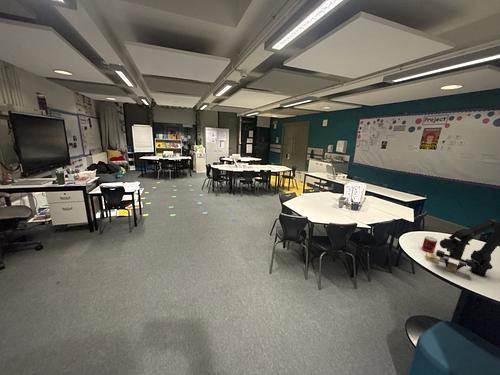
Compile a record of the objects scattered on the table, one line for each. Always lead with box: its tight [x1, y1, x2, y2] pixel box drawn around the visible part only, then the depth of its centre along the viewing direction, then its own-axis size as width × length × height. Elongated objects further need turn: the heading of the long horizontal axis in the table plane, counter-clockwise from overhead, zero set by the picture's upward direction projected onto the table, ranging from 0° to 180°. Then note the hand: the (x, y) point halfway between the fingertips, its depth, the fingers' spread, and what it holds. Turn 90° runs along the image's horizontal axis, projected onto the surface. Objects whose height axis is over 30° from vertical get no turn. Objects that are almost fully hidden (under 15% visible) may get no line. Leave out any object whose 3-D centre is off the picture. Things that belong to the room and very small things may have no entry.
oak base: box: [424, 252, 440, 265], centre depth 151 cm, size 7×7×4 cm
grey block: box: [439, 257, 450, 264], centre depth 151 cm, size 4×4×5 cm
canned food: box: [421, 235, 438, 254], centre depth 164 cm, size 8×8×11 cm
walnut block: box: [445, 261, 458, 274], centre depth 140 cm, size 4×4×5 cm
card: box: [455, 270, 472, 281], centre depth 136 cm, size 7×7×1 cm
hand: (450, 269), depth 140 cm, fingers closed on walnut block, 4 cm apart
